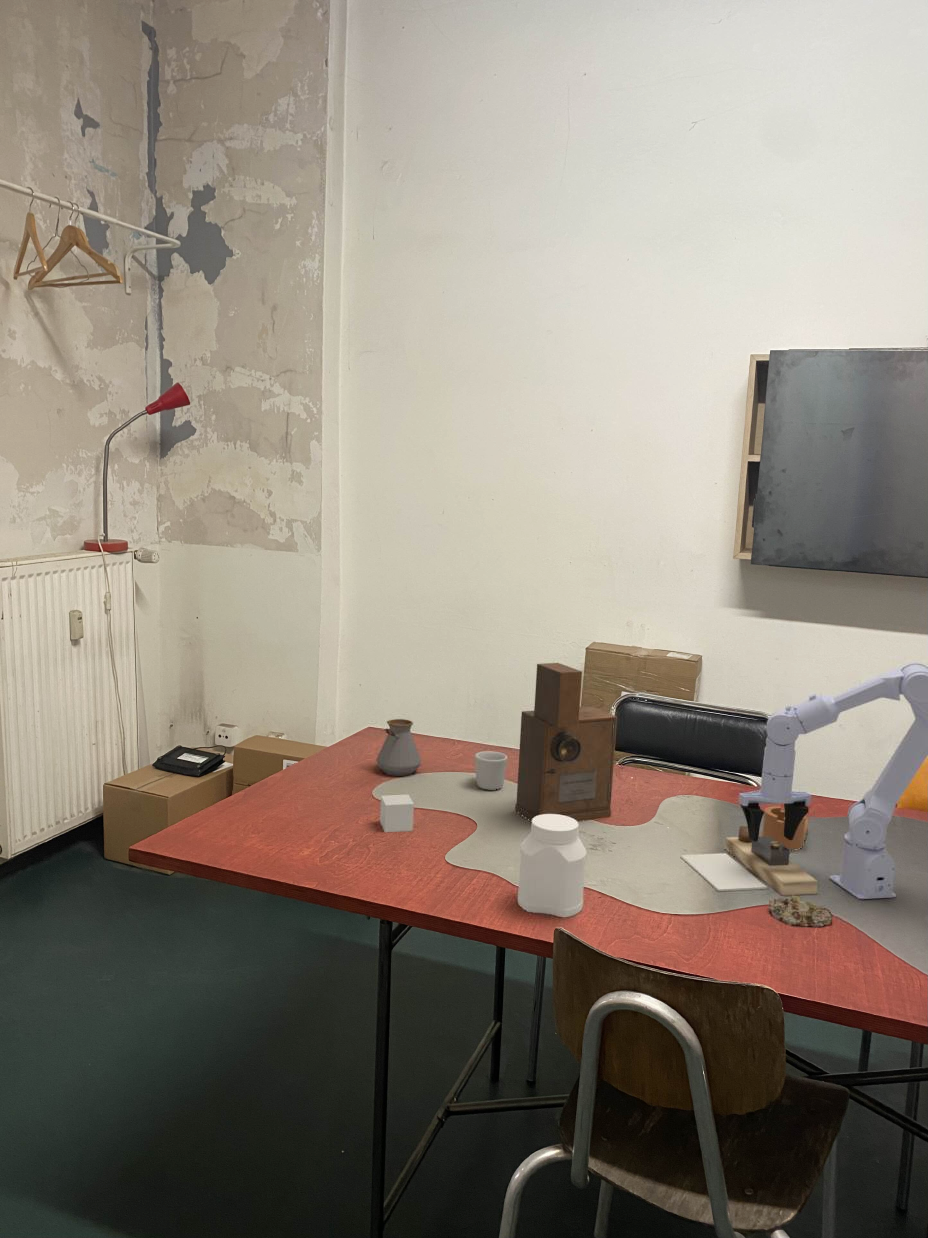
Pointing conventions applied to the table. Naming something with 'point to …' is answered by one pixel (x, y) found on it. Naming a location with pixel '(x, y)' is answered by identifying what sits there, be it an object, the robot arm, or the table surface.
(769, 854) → the lever cap
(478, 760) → the cup
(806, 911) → the mineral rock
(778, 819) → the bracket
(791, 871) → the body
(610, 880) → the table surface
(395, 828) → the white cube
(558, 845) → the jar
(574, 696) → the vintage camera
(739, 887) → the mat
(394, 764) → the coffee pot
